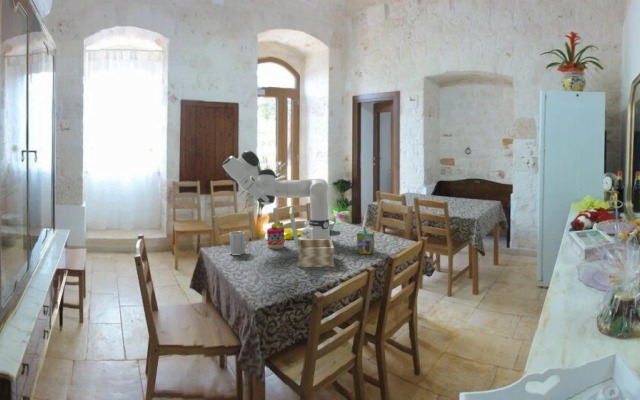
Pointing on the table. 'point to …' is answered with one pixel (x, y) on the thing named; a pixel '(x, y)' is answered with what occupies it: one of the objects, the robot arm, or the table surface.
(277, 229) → the cake
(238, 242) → the cup
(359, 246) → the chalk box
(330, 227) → the serving bowl
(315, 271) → the table surface
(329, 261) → the birch box
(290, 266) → the table surface
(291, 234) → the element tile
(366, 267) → the table surface
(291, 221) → the lid
